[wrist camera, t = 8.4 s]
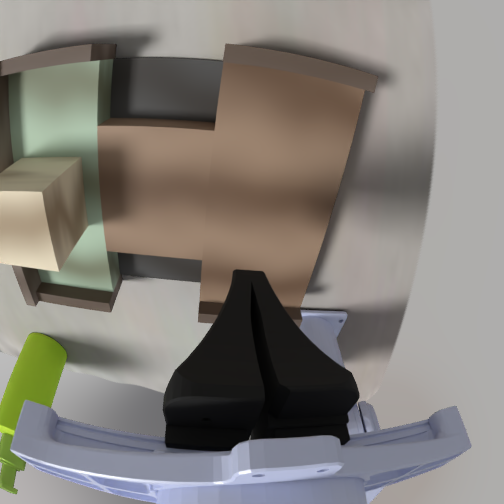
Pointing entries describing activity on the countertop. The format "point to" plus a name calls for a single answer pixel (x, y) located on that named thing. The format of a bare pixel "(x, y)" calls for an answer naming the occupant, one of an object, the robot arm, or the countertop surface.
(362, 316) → the countertop surface
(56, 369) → the soap dispenser
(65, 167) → the maple block
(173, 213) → the track
